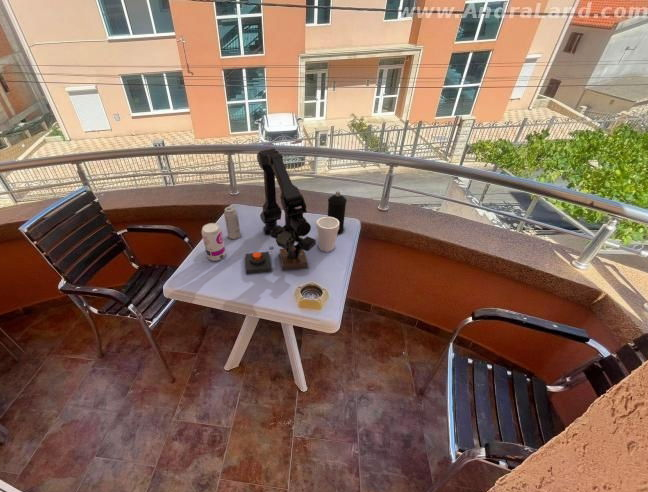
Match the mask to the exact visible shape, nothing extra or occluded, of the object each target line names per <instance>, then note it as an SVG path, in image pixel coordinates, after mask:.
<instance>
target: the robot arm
mask: <svg viewBox="0 0 648 492" xmlns="http://www.w3.org/2000/svg"><path fill="white" fill-rule="evenodd" d="M256 160H257V163H258V165H259V167H260V169H261V170H262V171H263V172H262V173H263V182H264V183H263V184H264V195H265V196H264V197H265V201H264V203H263V205H262V211H261V213H260V215H259V216H260V217H259V218H260V220H261V221H262V223H263V224H264V234H265V235H270V237H271V238H273V239H275V242H276V246H278V247H281V249H286V250H287V252H288V247H292V246H293V245H296V246H294V247H295V248H296V257H298V256H299V254H300V252H301V250H304V252H309V251H311V250H312V249H313V248H314V247H315V246H316V245H317V240H316V239H315V238H313V237H310V236H307V235H308V234H309V233H310V232H311V230H312V226H311V224H310V222H309V221H307V219H306V217H304V214H307V204H306V201H305V198H304V196H303V194H302V193H301V191H300V189H299V188H298V187H297V186H295V185H294V184H293V182H292V180H291V177H290V174H289V173H288V170H287V168H286V166H285V163H284V158H283V155H282V153H281V151H280V150H276V148H268V149H267V148H266V149H263V150H259V151H258V152H257V154H256ZM276 182H277V184H278V187H279V189H280V196H279V197H280V198H279V199H280V204H281V206H280V205H279V204H278V203H277V190H276ZM281 207H282V208H281ZM299 207H300V208H299ZM281 209H282V210H283V211H282V210H281ZM282 212H283V213H284V225H283V226H282V225H278V221H279V220H280V221H281V220H282V219H281V218H282V214H283V213H282ZM295 243H296V244H295Z"/></svg>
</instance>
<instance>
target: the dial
mask: <svg viewBox="0 0 648 492" xmlns="http://www.w3.org/2000/svg"><path fill="white" fill-rule="evenodd" d="M296 245H297V244H294V245H293V246H292V247H288V256H289V257H290V258H296V248H295V247H294V246H296Z"/></svg>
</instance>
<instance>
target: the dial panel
mask: <svg viewBox="0 0 648 492" xmlns="http://www.w3.org/2000/svg"><path fill="white" fill-rule="evenodd" d="M279 255H280V261H281V266H282V271H290V270H297V269H298V270H300V269H307V268H308V260H307V257H306V253H305V250H301V252H300V254H299V256H298V257H296V258H290V257H289V256H288V252H287V250H286V249H284V248H279Z"/></svg>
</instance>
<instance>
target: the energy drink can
mask: <svg viewBox="0 0 648 492" xmlns="http://www.w3.org/2000/svg"><path fill="white" fill-rule="evenodd" d="M223 216H224V221H225V226H226V232H227V233H226V234H227V237H228V238H229V239H231V240H238V239H239V238H240V236H241V228H240V227H241V226H240V221H239V214H238V210H237V209H236V207H235V206H232V205H230V206H229V205H228V206H226V207H225V208H224V212H223Z"/></svg>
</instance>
